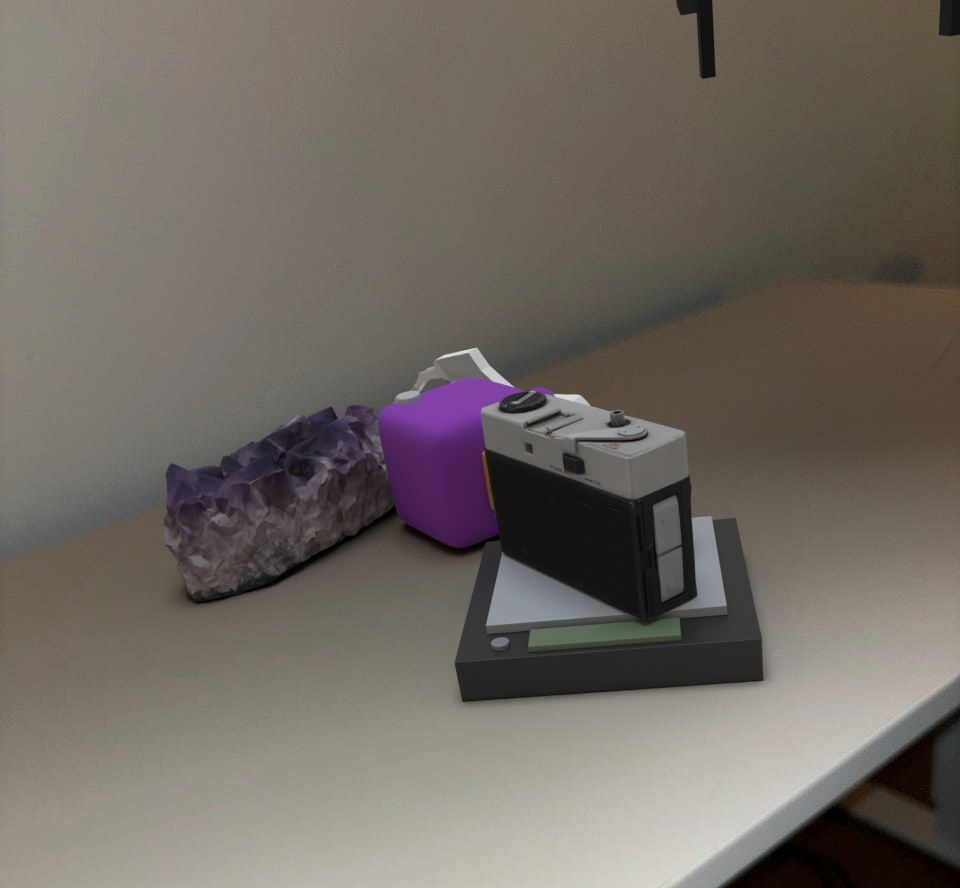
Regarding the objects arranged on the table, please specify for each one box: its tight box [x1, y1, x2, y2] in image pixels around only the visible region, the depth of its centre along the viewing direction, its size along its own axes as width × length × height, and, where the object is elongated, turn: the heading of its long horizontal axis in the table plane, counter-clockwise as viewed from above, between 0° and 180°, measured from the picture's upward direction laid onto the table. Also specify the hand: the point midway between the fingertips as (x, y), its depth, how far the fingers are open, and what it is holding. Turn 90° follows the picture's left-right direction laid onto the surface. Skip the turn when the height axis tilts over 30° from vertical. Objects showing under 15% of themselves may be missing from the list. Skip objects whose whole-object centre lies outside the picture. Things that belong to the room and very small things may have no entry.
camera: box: [480, 390, 697, 622], centre depth 60 cm, size 14×9×10 cm, turn 26°
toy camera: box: [378, 378, 556, 549], centre depth 77 cm, size 11×14×10 cm
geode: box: [163, 404, 395, 602], centre depth 79 cm, size 20×12×10 cm, turn 146°
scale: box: [454, 515, 764, 702], centre depth 62 cm, size 16×15×3 cm
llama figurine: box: [393, 347, 591, 406], centre depth 94 cm, size 2×11×18 cm
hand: (827, 57), depth 62 cm, fingers open, 13 cm apart
